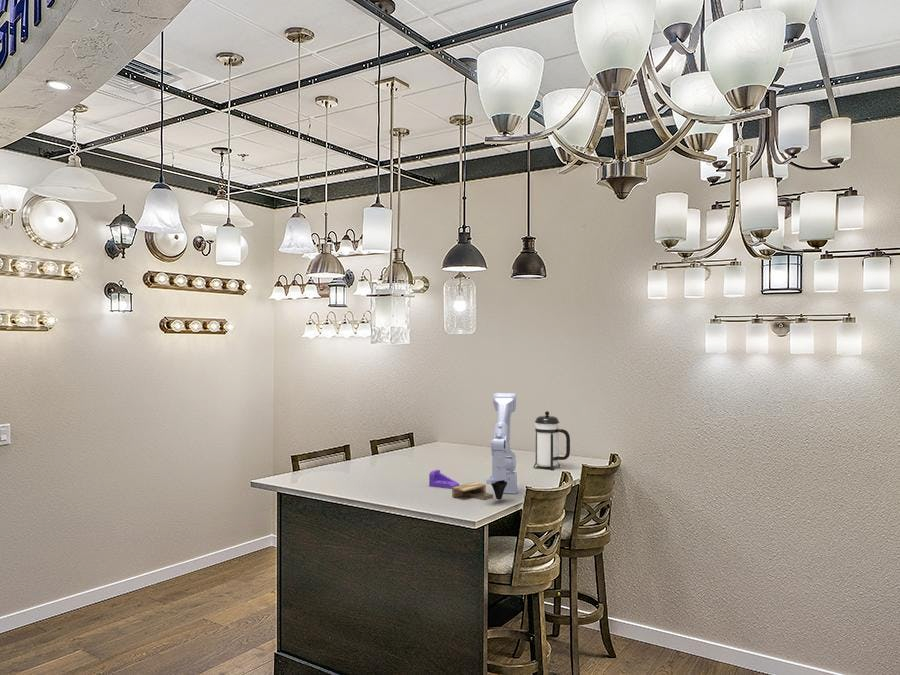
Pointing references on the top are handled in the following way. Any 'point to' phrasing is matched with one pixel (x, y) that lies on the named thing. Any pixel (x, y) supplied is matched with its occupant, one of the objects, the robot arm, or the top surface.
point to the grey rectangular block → (478, 494)
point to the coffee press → (549, 441)
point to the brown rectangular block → (467, 488)
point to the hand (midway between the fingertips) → (498, 498)
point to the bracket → (441, 480)
